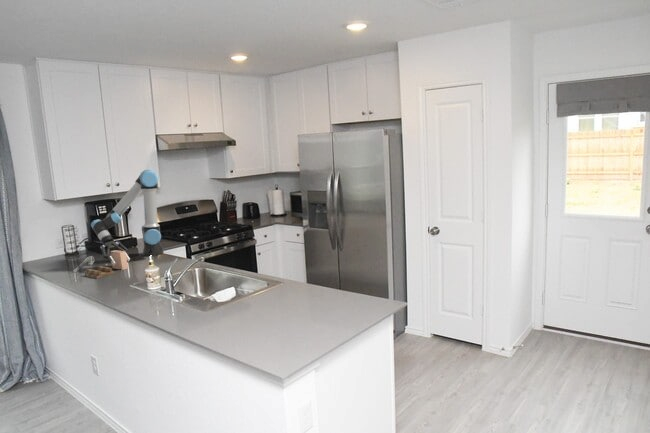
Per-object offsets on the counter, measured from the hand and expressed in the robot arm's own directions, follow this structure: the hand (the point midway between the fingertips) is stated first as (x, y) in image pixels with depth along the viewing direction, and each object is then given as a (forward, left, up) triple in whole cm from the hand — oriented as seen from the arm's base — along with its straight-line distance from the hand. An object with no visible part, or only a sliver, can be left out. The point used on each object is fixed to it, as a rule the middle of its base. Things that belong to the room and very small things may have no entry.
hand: (121, 262), depth 314 cm
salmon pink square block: (+1, -3, -5) cm, 6 cm away
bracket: (+16, -29, -5) cm, 33 cm away
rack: (+16, +2, -4) cm, 16 cm away
